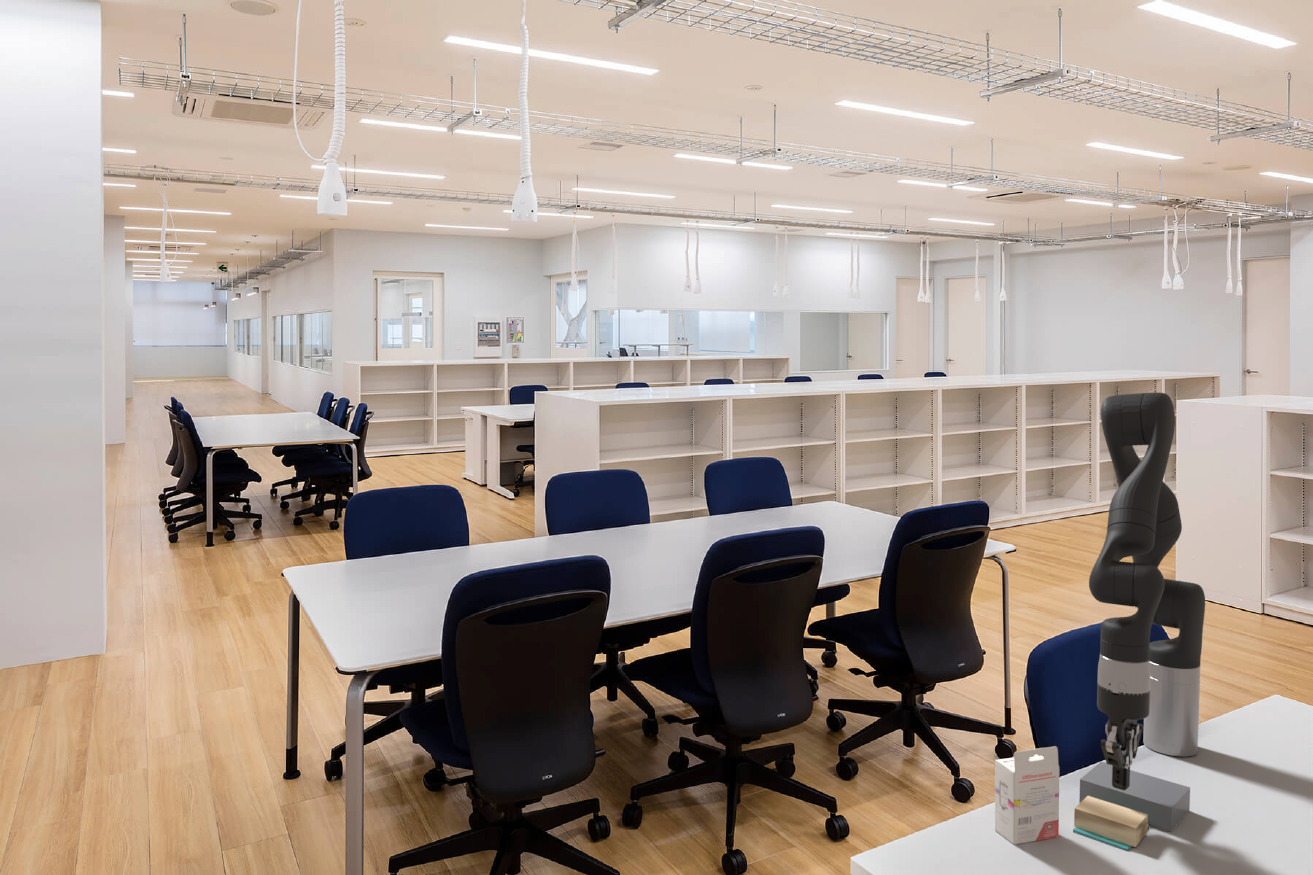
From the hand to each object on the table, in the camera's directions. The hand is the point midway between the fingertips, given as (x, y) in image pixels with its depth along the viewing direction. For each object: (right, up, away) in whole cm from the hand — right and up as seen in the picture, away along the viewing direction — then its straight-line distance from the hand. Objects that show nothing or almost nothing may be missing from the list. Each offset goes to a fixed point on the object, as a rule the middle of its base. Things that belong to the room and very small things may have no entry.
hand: (1120, 787), depth 140 cm
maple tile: (-3, -4, -3) cm, 6 cm away
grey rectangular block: (+5, -5, +5) cm, 9 cm away
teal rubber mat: (-3, -6, -2) cm, 7 cm away
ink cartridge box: (-17, -6, -4) cm, 19 cm away
